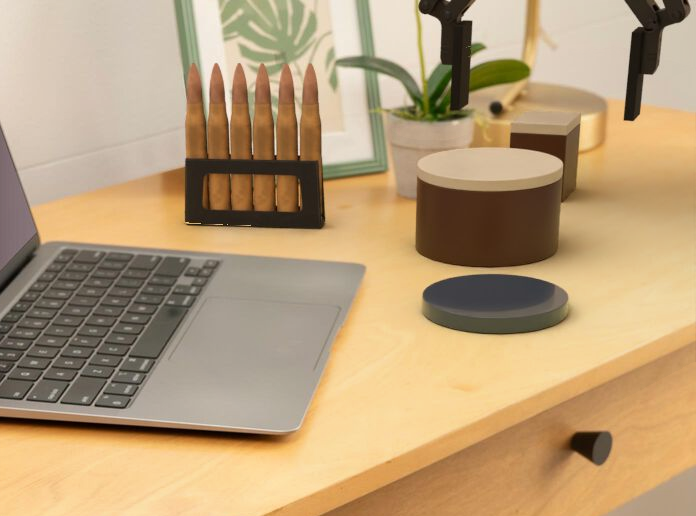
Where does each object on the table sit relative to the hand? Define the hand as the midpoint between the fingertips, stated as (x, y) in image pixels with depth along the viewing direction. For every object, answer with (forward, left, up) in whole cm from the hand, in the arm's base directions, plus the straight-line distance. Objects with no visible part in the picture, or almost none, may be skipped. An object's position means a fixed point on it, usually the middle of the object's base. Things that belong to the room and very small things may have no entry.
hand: (543, 112), depth 118 cm
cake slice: (0, 0, -6) cm, 6 cm away
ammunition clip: (+24, -1, -7) cm, 25 cm away
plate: (+17, +25, -6) cm, 31 cm away
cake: (+11, +12, -6) cm, 18 cm away
